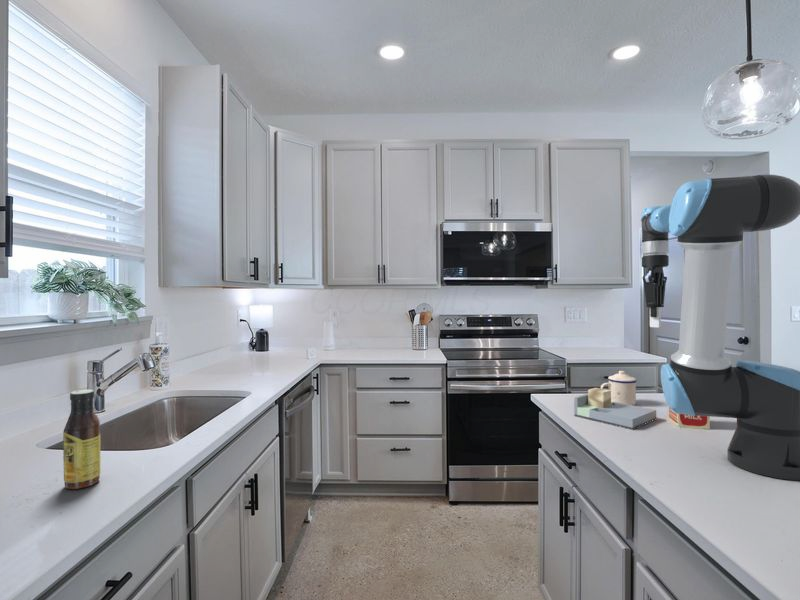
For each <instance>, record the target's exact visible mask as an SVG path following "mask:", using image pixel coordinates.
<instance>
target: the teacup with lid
mask: <svg viewBox="0 0 800 600" xmlns="http://www.w3.org/2000/svg"><path fill="white" fill-rule="evenodd" d="M607 380H608V382H604V383H602V384H601V385H600V388H601V389H605V388H604V387H606V386H608V390H611V401H612V402H618V403H623V404H628V405H633V406H636V404H637V403H636V402H637V395H636V394H637V386H636V385H637V379H636V378H635V377H633V376H630V375H629V374H627V373H626V371H625V370H619V371H618V373H615V374H613V375H609V376H608V378H607Z"/></svg>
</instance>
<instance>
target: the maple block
mask: <svg viewBox="0 0 800 600" xmlns="http://www.w3.org/2000/svg"><path fill="white" fill-rule="evenodd" d="M587 392H588V393H587V394H588V405H591V406H595V407H600V408H605V407H608V406H611V390H609V389H608V388H607V389H606V388H603V389H601V387H594V388H590V389H588V390H587Z"/></svg>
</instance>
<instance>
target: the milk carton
mask: <svg viewBox="0 0 800 600" xmlns="http://www.w3.org/2000/svg"><path fill="white" fill-rule="evenodd" d="M667 415H668V416H667V417H668V418H669V419H670V420H671V421H672V422H673V423H672V422H671V421H670V420H669V419H668V418H667V419H668V420H669V421H670V422H671V423H672V424H674V425H675V424H676V425H677V426H678V427H682V428H681V429H693V428H696V430H697V429H698V430H699V429H700V430H701V429H702V430H710V429H711V427H710V422H711V419H710V416H691V415H686V414H678V413H675V412H673V411H672V410H671V409H670V408H669V407H668V414H667ZM676 425H675V426H676ZM677 426H676V427H677ZM678 427H677V428H678Z"/></svg>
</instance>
